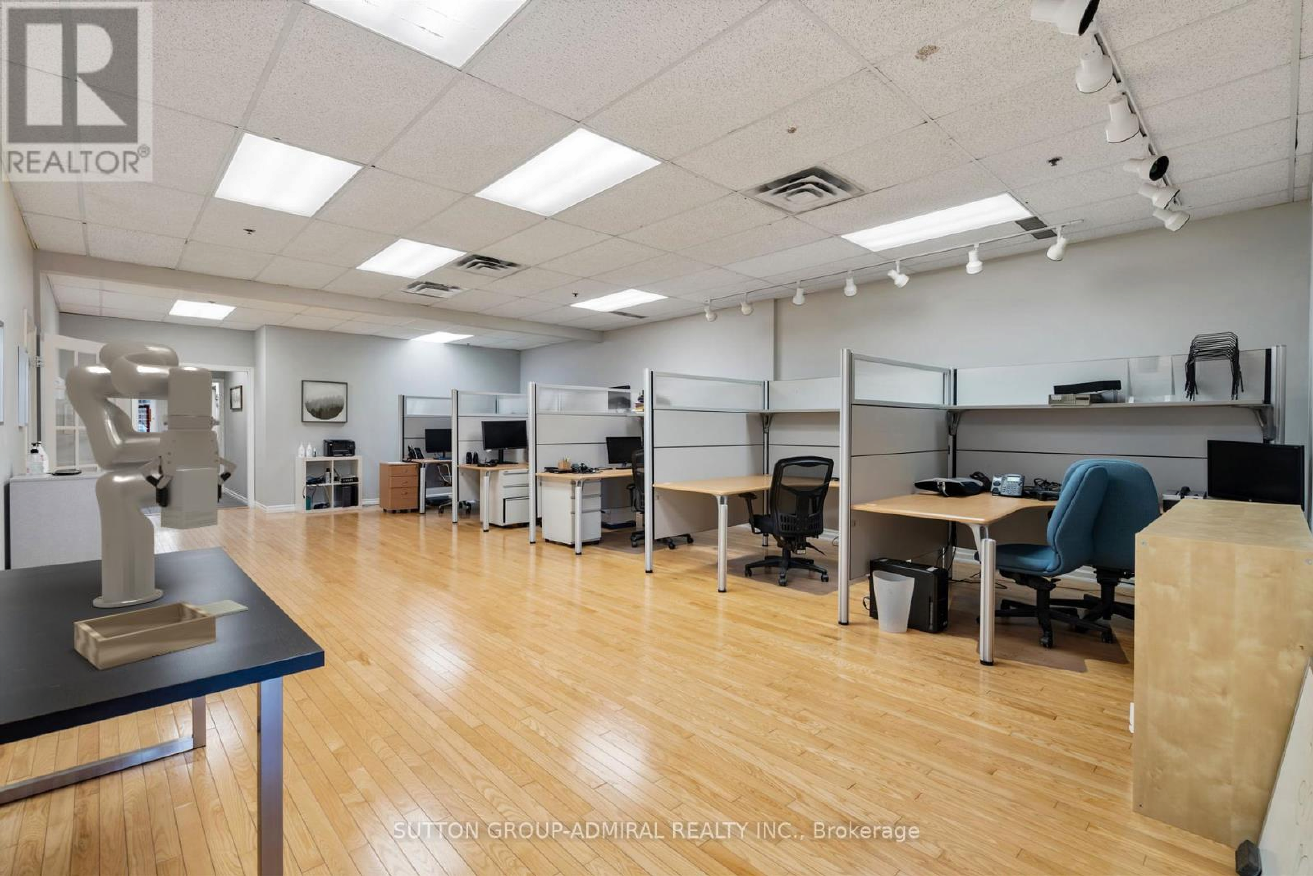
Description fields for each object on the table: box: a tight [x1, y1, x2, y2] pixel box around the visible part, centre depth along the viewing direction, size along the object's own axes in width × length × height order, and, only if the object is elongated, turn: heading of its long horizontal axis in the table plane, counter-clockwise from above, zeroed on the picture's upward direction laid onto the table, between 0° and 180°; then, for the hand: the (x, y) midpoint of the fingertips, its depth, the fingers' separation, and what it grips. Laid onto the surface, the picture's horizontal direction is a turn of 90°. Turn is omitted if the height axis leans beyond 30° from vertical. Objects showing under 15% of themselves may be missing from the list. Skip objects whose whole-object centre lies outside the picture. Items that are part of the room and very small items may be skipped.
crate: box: [73, 600, 217, 671], centre depth 114 cm, size 17×17×5 cm
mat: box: [194, 599, 249, 618], centre depth 135 cm, size 11×11×1 cm
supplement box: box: [160, 468, 219, 531], centre depth 128 cm, size 7×7×13 cm
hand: (189, 504), depth 128 cm, fingers closed on supplement box, 8 cm apart
